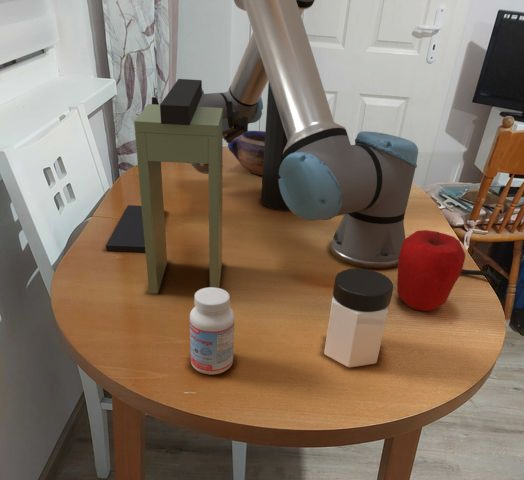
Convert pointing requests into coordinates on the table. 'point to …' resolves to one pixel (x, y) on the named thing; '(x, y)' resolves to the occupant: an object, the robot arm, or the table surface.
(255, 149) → the bowl
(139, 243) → the base pad
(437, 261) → the apple
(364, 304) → the jar
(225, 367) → the pill bottle
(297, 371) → the table surface
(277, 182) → the vase
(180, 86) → the black rectangular bar
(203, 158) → the stand
